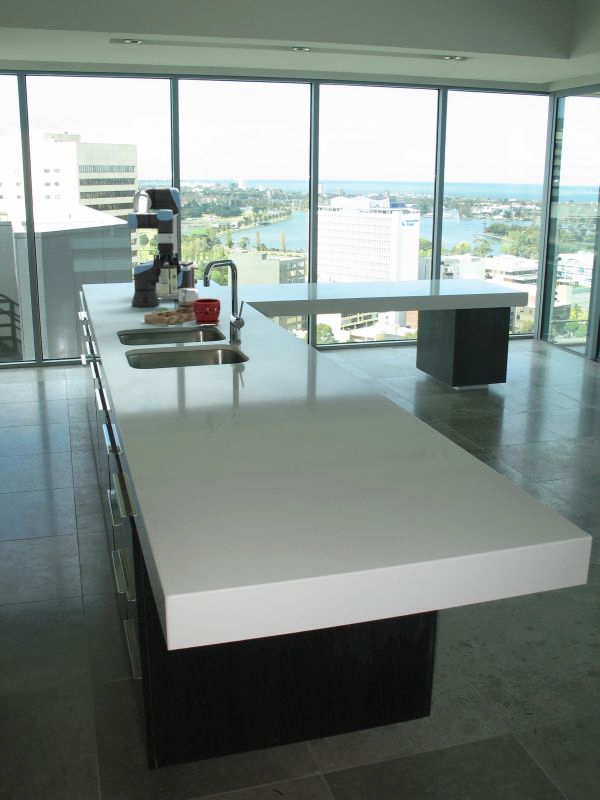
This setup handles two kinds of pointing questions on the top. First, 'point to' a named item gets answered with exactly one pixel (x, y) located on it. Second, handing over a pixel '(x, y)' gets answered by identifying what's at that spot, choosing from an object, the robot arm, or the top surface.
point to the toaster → (187, 277)
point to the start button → (164, 309)
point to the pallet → (168, 317)
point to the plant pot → (206, 311)
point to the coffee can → (168, 280)
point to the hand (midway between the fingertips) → (166, 288)
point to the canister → (187, 299)
